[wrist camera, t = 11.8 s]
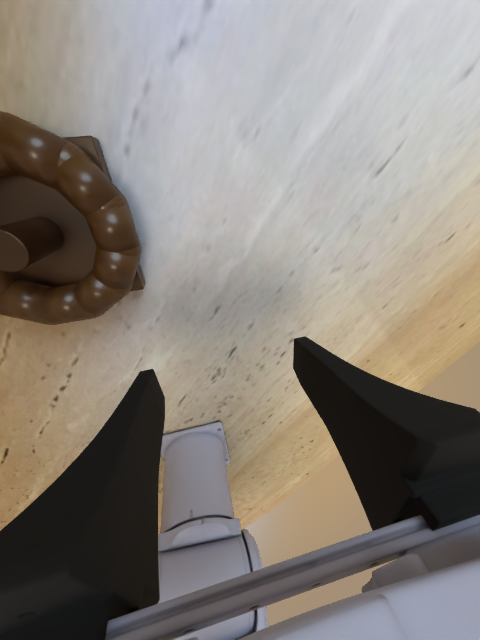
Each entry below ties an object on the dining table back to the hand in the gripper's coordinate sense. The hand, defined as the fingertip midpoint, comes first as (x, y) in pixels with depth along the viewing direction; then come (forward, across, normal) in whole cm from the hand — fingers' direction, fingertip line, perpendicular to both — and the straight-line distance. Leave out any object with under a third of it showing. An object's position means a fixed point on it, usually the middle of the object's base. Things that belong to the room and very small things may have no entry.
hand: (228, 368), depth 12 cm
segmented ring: (+7, +9, -6) cm, 13 cm away
